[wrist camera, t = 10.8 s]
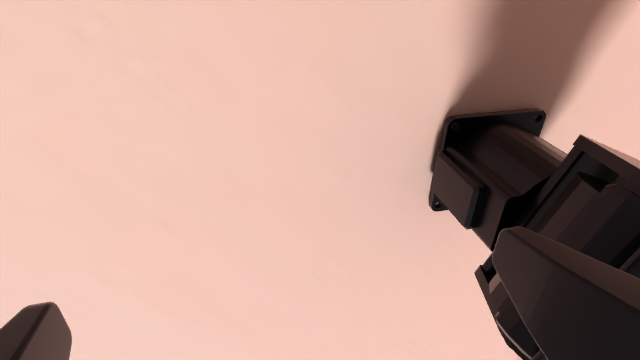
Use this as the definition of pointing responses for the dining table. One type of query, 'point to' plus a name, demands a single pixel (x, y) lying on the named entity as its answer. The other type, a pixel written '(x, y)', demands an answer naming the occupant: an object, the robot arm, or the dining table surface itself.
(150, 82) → the dining table surface
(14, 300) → the dining table surface
